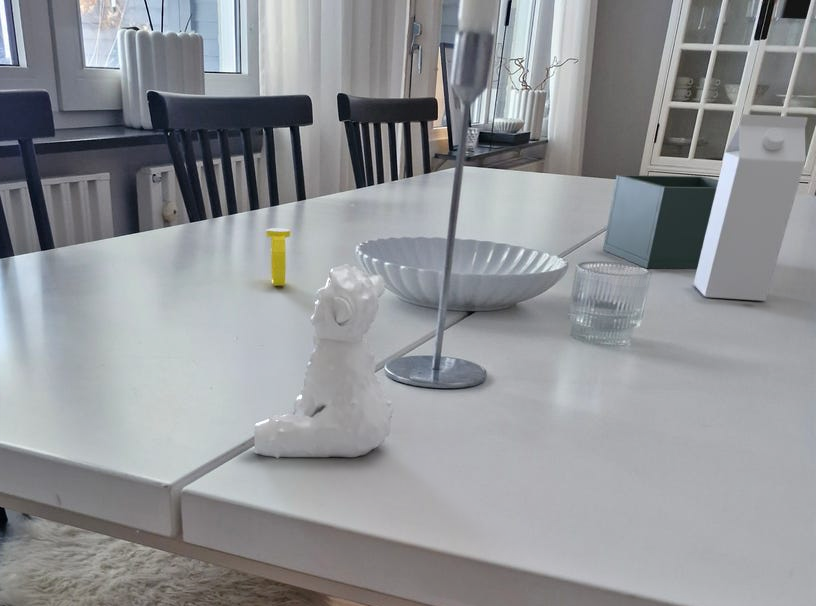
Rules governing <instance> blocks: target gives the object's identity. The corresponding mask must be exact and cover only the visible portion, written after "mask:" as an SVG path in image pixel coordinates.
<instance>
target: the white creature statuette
mask: <svg viewBox="0 0 816 606" xmlns="http://www.w3.org/2000/svg"><path fill="white" fill-rule="evenodd" d="M327 276H328V278H327V281H326V284H325V286H324V287H321V288H319V289H317V291H316V292H315V294H316V297H317V301H315V303H314V305H315V307H314V308H313V314H312V315H311V317H310V322H311V325H312V326H313V327H314V332H315V335H314V336H313V338H312V341H313V345H314V346H313V347H314V350H313V351H312V352H311V353H310V356H309V359H308V363H307V365H306V370H305V373H304V374H305V378H304V379H303V383H302V384H303V385H302V389H301V390H300V395H299V396H297V397H296V398H295V401H294V403H293V411H294V413H291V412H290V413H289V412H288V413H287V414H284V415H277V414H271V415H270V416H269V418H268V419H266V420H262V421H260V422H258V423H255V424H254V430H253V431H254V433H253V434H254V436H253V437H254V442H253V443H254V454H255V455H261V456H265V457H274V458H276V459H279V458H283V457H285V458H330V457H334V458H357V457H360V456H364V455H366V454H369V453H370V452H371V451H372V450H373V449H376V448H377V447H379V446H380V445H382V444H383V443H385V439H386V438H387V437H389V435H390V434H391V422H392V417H393V416H392V414H393V412H394V410H393V408H392V407H391V405H392V401H391V400H390V399H388V398H387V397H386V394H385V391H384V390H383V389H382V387H381V385H380V382H379V380H378V378H377V376H376V368H377V363H376V362H375V354H374V352H373V350H372V349H371V344H370V343H369V342H368V341H367V339H366V338H365V337H364V335H366V334H367V333H368V331H369V329H370V328H371V326H372V324H373V323H374V322H375V320H376V317H377V314H378V311H379V298H381V297H382V296H383V295H384V293H385V291H386V285H385V279H384V277H383V276H382V275H381V274H374V275H371V276H369V274H368V273H366V272H364V271H362V270H360V269H359V268H358V267H357V266H355V265H353V266H351V265H350V264H349V263H344V264H343V265H341V266H336V267H333V268H331V270H330V272H329V273H328V275H327Z"/></svg>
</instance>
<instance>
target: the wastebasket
mask: <svg viewBox="0 0 816 606" xmlns="http://www.w3.org/2000/svg"><path fill="white" fill-rule="evenodd" d="M718 181H719V179H714V178H711V177H706V176H698V175H697V176H696V175H695V176H693V175H692V176H691V175H690V176H689V175H687V176H686V175H645V174H644V175H639V174H636V175H635V174H616V176H615V182H614V187H613V188H614V189H613V193H612V198H611V205H610V209H609V215H608V219H607V226H606V231H605V236H604V240H603V241H604V242H603V247H602V251H604V252H606V253H609V254H612V255H614V256H616V257H619V258H621V259H623V260H626V261H628V262H630V263H632V264H635V265H637V266H639V267H642V268H645V269H647V268H648V269H647V270H649V269H650V270H651V269H652V270H655V269H656V270H658V269H659V270H665V269H667V270H668V269H673V270H675V269H677V270H678V269H681V270H682V269H689V270H690V269H693V270H695V269H696V270H697V267H698V263H699V259H700V255H701V251H702V247H703V243H704V239H705V234H706V230H707V226H708V222H709V218H710V214H711V210H712V205H713V201H714V197H715V193H716V189H717V185H718Z"/></svg>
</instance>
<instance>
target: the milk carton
mask: <svg viewBox="0 0 816 606" xmlns="http://www.w3.org/2000/svg"><path fill="white" fill-rule="evenodd" d="M808 119H809V118H808V117H805V116H804V117H803V116H786V115H784V116H783V115H766V114H765V115H764V114H741V115H740V120H739V123H738V127H737V128H736V130H735V132H734V134H733V136H732V138H731V140H730V142H729V143H728V146H727V148H726V150H725V151H724V156H723V160H722V165H721V169H720V173H719V176H718V180H719V181H718V185H717V189H716V193H715V197H714V201H713V205H712V210H711V214H710V218H709V222H708V226H707V230H706V234H705V239H704V243H703V247H702V251H701V255H700V259H699V263H698V267H697V269H696V272H695V276H694V280H693V286H694V287H695V288H696V289H697V290H698V291H699V292H700V293H701V294H702V295H703V296H704V297H705V298H713V299H714V298H715V299H731V300H745V301H761V302H762V301H763V302H764V301H766V299H767V297H768V293H769V289H770V286H771V282H772V278H773V275H774V272H775V269H776V265H777V261H778V259H779V254H780V251H781V248H782V244H783V241H784V237H785V233H786V230H787V226H788V223H789V220H790V216H791V213H792V209H793V205H794V203H795V199H796V195H797V192H798V188H799V185H800V181H801V177H802V174H803V170H804V168H805V163H806V126H807V122H808Z"/></svg>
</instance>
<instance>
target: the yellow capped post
mask: <svg viewBox="0 0 816 606" xmlns="http://www.w3.org/2000/svg"><path fill="white" fill-rule="evenodd" d="M265 236H266V237H268V238H271V239H270V272H271V273H270V274H271V276H270V277H271V284H272V286H279V287H281V286H285V285H286V263H287V262H286V258H287V257H286V238H290V237H291V230H290V229H288V228H281V227H279V228H278V227H275V228H274V227H272V228H265Z"/></svg>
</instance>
